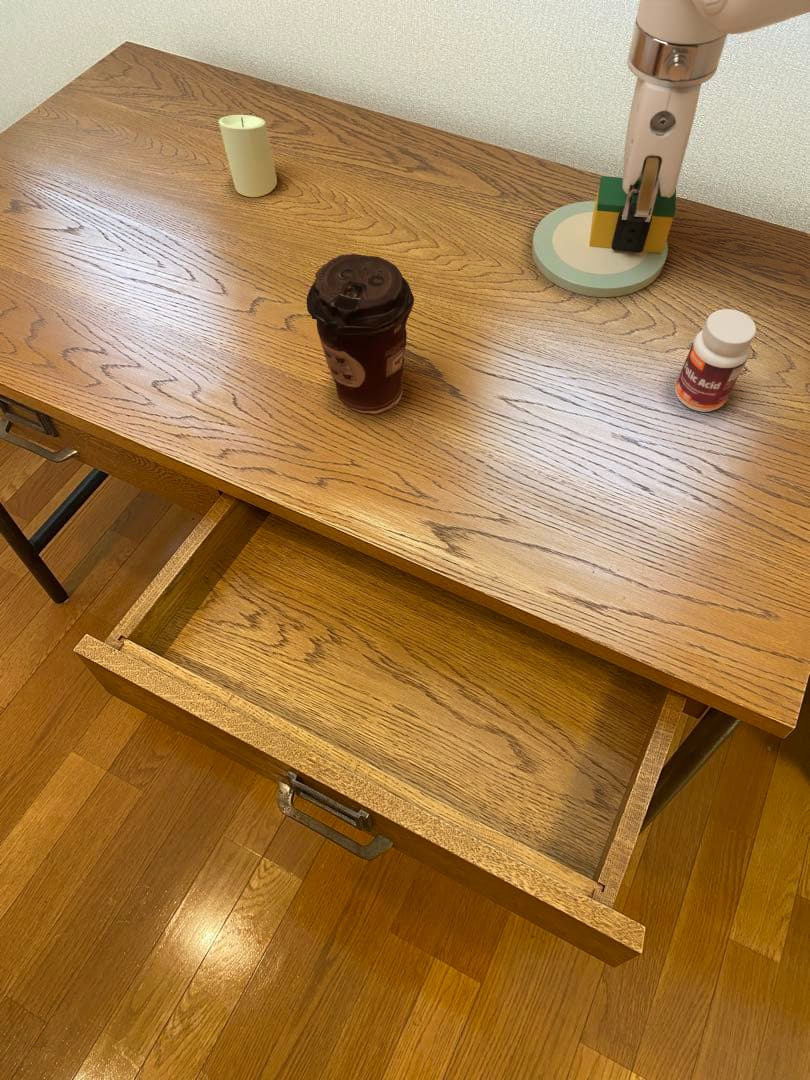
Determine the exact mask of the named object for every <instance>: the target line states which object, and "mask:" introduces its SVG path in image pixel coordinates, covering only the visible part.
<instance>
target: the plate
mask: <svg viewBox="0 0 810 1080" xmlns="http://www.w3.org/2000/svg"><path fill="white" fill-rule="evenodd" d="M595 202H596V200H585V201H578V202H573V203H569V204H565V205H563V206H561V207H558V208H556V209H554V210H552V211H550V212H549V213H548V214H547V215H545V216H544V217H543V218H542V219H541V220H540V222H539V223H538V224H537V226H536V227H535V230H534V232H533V235H532V241H531V242H532V243H531V255H532V259H533V262H534V264H535V266H536V268H537V269H538V270H539V272H540V273H541V274H542V275H543V276H544V277H545V278H546V279H547V280H549V281H550V282H551V283H553V284H554V285H556V286H557V287H559V288H562V289H564V290H566V291H567V292H568V291H569V292H571V293H574V294H577V295H580V296H581V295H582V296H586V297H594V298H615V297H622V296H626V295H627V296H628V295H631V294H633V293H636V292H638V291H641V290H643V289H645V288H646V287H648V286H649V285H651V284H652V283H653V282H654V281H656V279H657V278H658V277H659V276H660V275H661V274H662V271H663V269H664V267H665V263H666V260H667V257H668V252H669V246H668V241H667V240H666V243H665V246H664V249H663V252H662V253H654V252H644V251H642V252H640V253H637V252H627V251H617V250H613V249H612V248H604V247H594V246H589V243H590V233H591V224H592V217H593V212H594V207H595Z"/></svg>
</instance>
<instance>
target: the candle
mask: <svg viewBox="0 0 810 1080" xmlns="http://www.w3.org/2000/svg"><path fill="white" fill-rule="evenodd" d="M217 121H218V126H219V130H220V133H221V138H222V142H223V147H224V150H225V154H226V158H227V161H228V165H229V171H230V174H231V177H232V178H231V179H232V182H233V185H234V189H235V191H236V192H237V193H238V194H240V195H241V196H245V197H247V198H248V197H249V198H259V197H263V196H265V195H268V194H269V193H271V192H272V191H273V190H274V189H276V186H277V185H278V179H277V174H276V168H275V163H274V159H273V154H272V148H271V143H270V137H269V133H268V128H267V123H266V120H264V119H263V118H261V117H258V116H255V115H250V114H232V115H231V114H230V115H226V116H223V117H220V118H219V119H218V120H217Z"/></svg>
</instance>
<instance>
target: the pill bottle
mask: <svg viewBox="0 0 810 1080" xmlns="http://www.w3.org/2000/svg"><path fill="white" fill-rule="evenodd" d="M756 333H757V326H756V323H755V322H754V320H753V319H752V317H750V316H749V315H748V314H746V313H744V312H743V311H740V310H736V309H731V308H722V309H718V310H716V311H713V312H712V313H711V314H710V315H709V316H708V317H707V319H706V321H705V324H704V325H703V327H702V329H701V330H700V331H699V332H698V333H697V334H696V335H695V337H694V339H693V340H692V344H691V346H690V349H689V351H688V353H687V356H686V358H685V361H684V363H683V366H682V368H681V370H680V373H679V375H678V378H677V380H676V383H675V384H674V392H675V396H676V398H677V399H678V401H680V403H681V404H683V405H684V406H685V407H687V408H689V409H690V410H693V411H696V412H702V413H706V412H707V413H708V412H712V411H716V410H718V409H720V408H721V407H723V406H724V404H726V402H727V400H728V398H729V396H730V394H732V390H733V388H734V387H735V385H736V382H737V381H738V379H739V378H740V375H741V374H742V371H743V369H744V367H745V365H746V363H747V362H748V360H749V358H750V355H751V349H752V348H751V344H752V342H753V340H754V338H755V336H756Z"/></svg>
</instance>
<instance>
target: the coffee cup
mask: <svg viewBox="0 0 810 1080" xmlns="http://www.w3.org/2000/svg"><path fill="white" fill-rule="evenodd" d="M314 277H315V279H314V281H313V283H312V285H311V286H310V289H309V291H308V293H307V297H306V310H307V312H308V314H309V315H310V317H311V319H312V320H316V331H317V334H318V337H319V340H320V344H321V348H322V351H323V354H324V358H325V360H326V364H327V368H328V370H329V373H330V375H331V377H332V379H333V382H334V383H335V389H336V390H335V391H336V394H337V397H338V399H339V401H340V402H341V403H342V404H343V405H344V406H346V407H348V408H349V409H351V410H353V411H355V412H359V413H362V414H375V415H378V414H381V413H383V412H384V411H387V410H390V409H392V408H393V407H394V406H395V405H398V403H399V401H400V400H401V399H402V397H403V379H402V377H403V373H404V365H405V357H404V356H405V355H404V352H405V350H406V347H407V340H408V336H407V335H408V332H407V328H406V327H407V322H408V319H409V316H410V314H411V313H412V310H413V306H414V305H415V303H414V302H415V297H414V294H413V292H412V290H411V287H410V284H409V282H408V281H407V280H406V278H404V277H403V275H402V272H401V271H400V269H399V268H398V267H397V265H395V264H394V263H392V262H390V261H389V260H387V259H384V258H382V257H379V256H377V255H376V256H374V255H364V254H358V253H357V254H356V253H350V254H349V253H347V254H341V255H339V256H337V257H333V258H332V259H330V260H328V261H327V263H325V264H323V265H322V266H321V267H320V268H319V269H318V270H317V271H316V273H315V275H314Z"/></svg>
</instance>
